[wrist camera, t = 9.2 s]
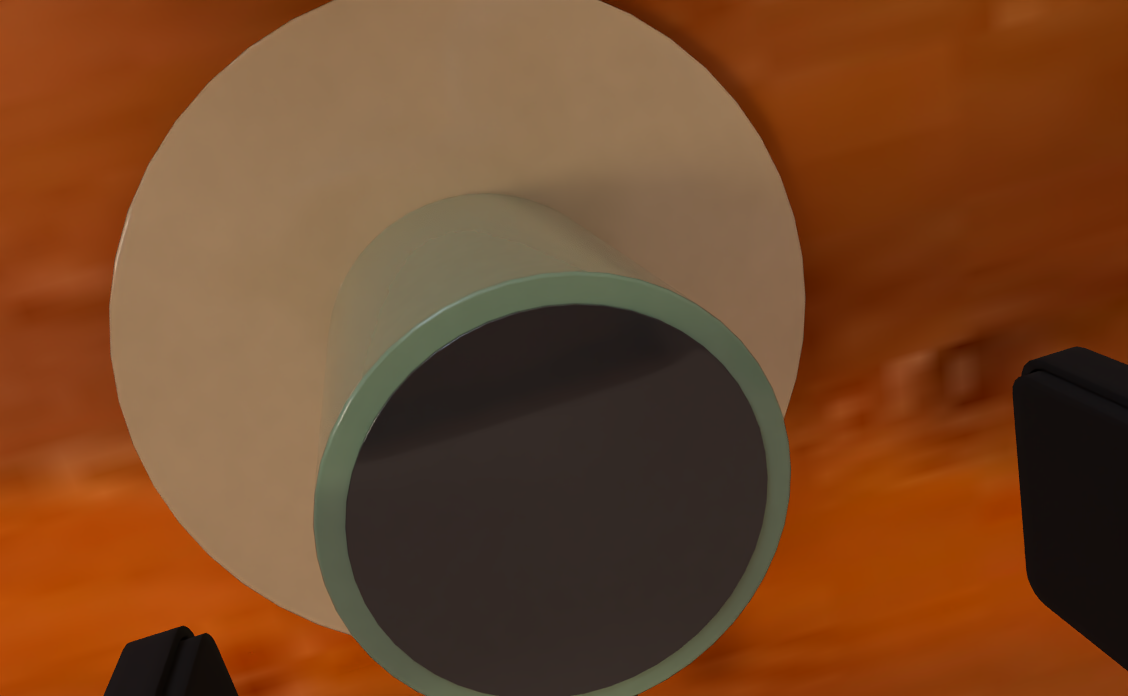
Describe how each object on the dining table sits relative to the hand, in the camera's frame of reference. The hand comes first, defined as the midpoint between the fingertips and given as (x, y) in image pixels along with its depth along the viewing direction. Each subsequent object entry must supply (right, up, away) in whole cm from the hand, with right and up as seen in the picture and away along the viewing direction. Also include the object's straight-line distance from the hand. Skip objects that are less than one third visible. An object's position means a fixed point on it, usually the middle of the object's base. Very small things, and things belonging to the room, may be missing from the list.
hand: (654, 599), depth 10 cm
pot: (-3, +1, +11) cm, 11 cm away
